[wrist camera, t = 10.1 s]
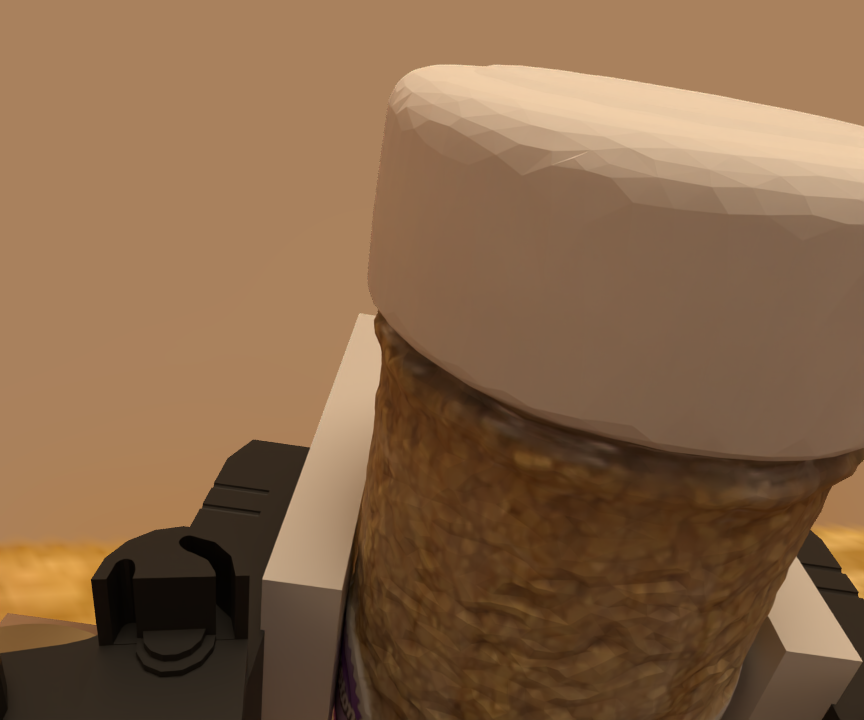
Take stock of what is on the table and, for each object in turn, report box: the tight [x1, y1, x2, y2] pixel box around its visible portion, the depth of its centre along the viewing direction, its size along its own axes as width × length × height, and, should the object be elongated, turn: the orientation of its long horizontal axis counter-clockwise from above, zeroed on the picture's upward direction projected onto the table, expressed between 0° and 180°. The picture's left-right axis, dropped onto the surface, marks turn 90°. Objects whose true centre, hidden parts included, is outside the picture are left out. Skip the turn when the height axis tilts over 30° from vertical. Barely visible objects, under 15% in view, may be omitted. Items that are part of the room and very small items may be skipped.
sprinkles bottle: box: [332, 65, 864, 720], centre depth 8 cm, size 5×5×14 cm
